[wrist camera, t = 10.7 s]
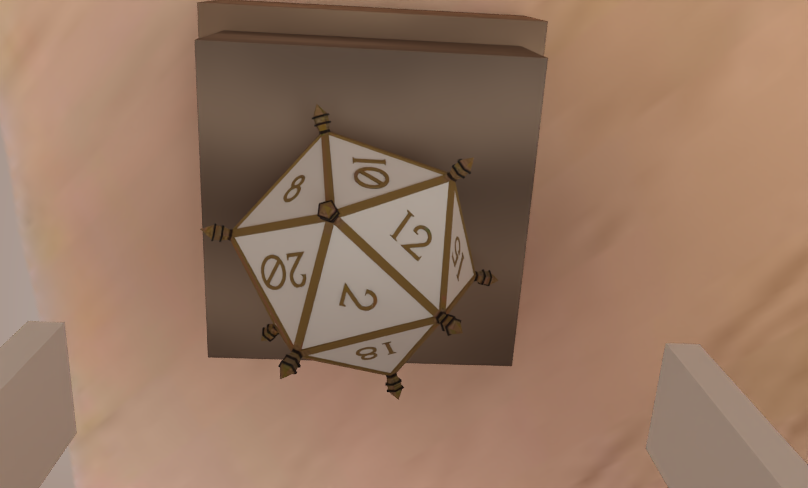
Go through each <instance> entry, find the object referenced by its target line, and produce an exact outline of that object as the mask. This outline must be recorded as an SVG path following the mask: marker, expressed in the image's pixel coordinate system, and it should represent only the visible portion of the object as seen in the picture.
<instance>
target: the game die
mask: <svg viewBox="0 0 808 488" xmlns="http://www.w3.org/2000/svg"><path fill="white" fill-rule="evenodd" d="M328 115H329V113H328V114H327V113H326V112H325V111H324V110H323V109H322V108H321V107H320V106H319V105H318V104H316V108H315V112H314V116H313V118H312V120H313V119H314V122H315V125H314V127H317V129H318V131H319V135H318V136H317V138H316V139H315V140H314V141H313V142H312V143H311V144H310V145H309V146H308V147H307V148H306V150H305V151H304V152H303V153H302V154H301V155H300V156H299V157H298V158H297V159H296V160H295V162H294V163H293V164H292V165H291V166H290V167H289V168H288V169H287V170H286V171H285V172H284V174H283V175H282V176H281V177H280V178H279V179H278V180H277V181H276V182H275V183H274V184H273V186H272V187H271V188H270V189H269V190H268V191H267V192H266V193H265V194H264V195H263V196H262V198H261V199H260V200H259V201H258V202H257V203H256V204H255V205H254V206H253V207H252V208H251V210H250V211H249V212H248V213H247V214H246V215H245V216H244V217H243V218H242V219H241V220H240V222H239V223H238V224H237V225H236V226H235V227H234V228H233V229H228V228H225V227H224V225H222V226H218V225H216V223H214V225H211V226H208V227H205V228H202V229H201V230H202V231H203V232H204V233H205V234H206V235H207V236H208V237H210V238H211V241H213V240H219V242H221V241H222V240H230V241H231V243H232V245H233V247H234V249H235V251H236V253H237V254H238V256H239V258H240V260H241V262H242V264H243V266H244V268H245V270H246V272H247V274H248V276H249V278H250V280H251V282H252V284H253V286H254V287H255V289H256V291H257V293H258V295H259V297H260V299H261V301H262V303H263V305H264V307H265V309H266V311H267V313H268V315H269V317H270V319H271V321H272V322H273V324H267V327H266V328H264V327H263V328H262V338H261V341H269V342H271V341H272V340H273V339H275V338H276V336H277V335H279V334H280V336H281V337H282V339H283V340H284V342H285V343H286V345H287V346H288V348H289V349H290V351H291V353H290V354H289V355H288V354H286V356H285V357H284V359H283V360H282V361H281V363H280V364H279V367H280V379H282V378H284V377H287V376H289V375H291V374H296V373H297V372H296V370H297V368H298V367H300V364H299V363H300V359H301V358H304V359H309V360H314V361H319V362H323V363H328V364H333V365H338V366H343V367H348V368H353V369H358V370H363V371H367V372H372V373H377V374H382V375H386V377H387V382H386V385H387V387H388V390H387V392H390V393H391V394H392V395H394V396H395V397H396V398H397V399H398V400H399V397H400V394H401V391H402V389H403V388H404V387H403V386H402V385H401V382H402V381H401V379H400V378H398V376H397V372H398V371H399V369H400V368H401V367H402V366H403V365H404V364H405V363H406V362H407V361H408V359H409V358H410V357H411V356H412V355H413V354H414V353H415V352H416V350H417V349H418V348H419V347H420V346H421V345H422V344H423V343H424V341H425V340H426V339H427V338H428V337H429V336H430V335H431V334H432V333H433V331H434V330H435V329H436V328H437V327H438V326H439V325H441V329H442V331H446V332H447V335H448V336H450V335H452V334H463V332H462V328H461V321H462V320H460V319H457V318H455V316H453V315H450V314H449V313H450V311H451V310H452V309H453V308H454V306H455V305H456V304H457V302H458V301H459V300H460V299H461V297H462V296H463V295H464V294H465V292H466V291H467V290H468V288H469V287H470V286H471V285H472V283H473V282H474V281H476V282H478V284H481V285H483V284H484V285H486V286H490V284H493V283H495V282H497V281H499V280H498V279H497V278H496V277H495V276H494V275H493V274H492V273H491V271H490V270H488V271H484V269H482V270H481V271H478V272H477V271H475V268H474V264H473V259H472V255H471V250H470V246H469V241H468V237H467V232H466V228H465V223H464V219H463V214H462V210H461V205H460V201H459V196H458V192H457V187H456V183H455V182H456V181H457V180H458V179H460V178H463V179H464V178H465V175H467V174H468V173H469V174H471V167H472V164H473V160H474V157H473V158H468V159H463V160H462V159H459V160H458V161H457V162H458V163H457V164H454V165H452V169H451V171H450V172H446V171H443V170H440V169H437V168H434V167H431V166H428V165H426V164H423V163H420V162H417V161H414V160H411V159H408V158H405V157H402V156H400V155H397V154H394V153H391V152H388V151H385V150H382V149H379V148H376V147H374V146H371V145H368V144H365V143H362V142H359V141H356V140H353V139H350V138H348V137H345V136H342V135H339V134H336V133H333V132H331V131H330V129H329V123H331V121H329V118H328Z"/></svg>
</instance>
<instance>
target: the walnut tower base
mask: <svg viewBox="0 0 808 488" xmlns="http://www.w3.org/2000/svg"><path fill="white" fill-rule="evenodd" d="M197 8H198V33H199V39H196V40H195V60H196V84H197V107H198V131H199V155H200V178H201V202H202V226H203V228H205V227H208V226H211V225H214V223H216V225H218V226H222V225H224V227H225V228H228V229H233V228H234V227H235V226H236V225H237V224H238V223H239V222H240V220H241V219H242V218H243V217H244V216H245V215H246V214H247V213H248V212H249V211H250V210H251V208H252V207H253V206H254V205H255V204H256V203H257V202H258V201H259V200H260V199H261V198H262V196H263V195H264V194H265V193H266V192H267V191H268V190H269V189H270V188H271V187H272V186H273V184H274V183H275V182H276V181H277V180H278V179H279V178H280V177H281V176H282V175H283V174H284V172H285V171H286V170H287V169H288V168H289V167H290V166H291V165H292V164H293V163H294V162H295V160H296V159H297V158H298V157H299V156H300V155H301V154H302V153H303V152H304V151H305V150H306V148H307V147H308V146H309V145H310V144H311V143H312V142H313V141H314V140H315V139H316V138H317V136H318V135H319V131H318V129H317V127H314V125H315V122H314V119H313V120H312V118H313V116H314V112H315V108H316V104H318V105H319V106H320V107H321V108H322V109H323V110H324V111H325V112H326V113H327V114H328V113H329V115H328V118H329V121H331V123H329V129H330V131H331V132H333V133H336V134H339V135H342V136H345V137H348V138H350V139H353V140H356V141H359V142H362V143H365V144H368V145H371V146H374V147H376V148H379V149H382V150H385V151H388V152H391V153H394V154H397V155H400V156H402V157H405V158H408V159H411V160H414V161H417V162H420V163H423V164H426V165H428V166H431V167H434V168H437V169H440V170H443V171H446V172H450V171H451V169H452V165H454V164H457V163H458V162H457V161H458V160H459V159H462V160H463V159H468V158H473V157H474V160H473V164H472V167H471V174H469V173H468V174H467V175H465V178H464V179H463V178H460V179H458V180H457V181H456V182H455V183H456V187H457V192H458V196H459V201H460V205H461V210H462V214H463V219H464V223H465V228H466V232H467V237H468V241H469V246H470V250H471V255H472V259H473V264H474V268H475V271H477V272H478V271H481V270H482V269H484V271H488V270H490V271H491V273H492V274H493V275H494V276H495V277H496V278H497V279H498V280H499V281H497V282H495V283H493V284H490V286H486V285H484V284H483V285H481V284H478V282H476V281H474V282H473V283H472V285H471V286H470V287H469V288H468V290H467V291H466V292H465V294H464V295H463V296H462V297H461V299H460V300H459V301H458V302H457V304H456V305H455V306H454V308H453V309H452V310H451V311H450V313H449V314H450V315H453V316H455V318H457V319H460V320H462V321H461V328H462V332H463V334H452V335H450V336H448V335H447V332H446V331H442V329H441V325H439V326H438V327H437V328H436V329H435V330H434V331H433V333H432V334H431V335H430V336H429V337H428V338H427V339H426V340H425V341H424V343H423V344H422V345H421V346H420V347H419V348H418V349H417V350H416V352H415V353H414V354H413V355H412V356H411V357H410V358H409V359H408V361H407V362H406V363H424V364H458V365H493V366H512V360H513V352H514V343H515V335H516V326H517V318H518V309H519V300H520V292H521V283H522V275H523V266H524V258H525V249H526V241H527V232H528V223H529V215H530V206H531V198H532V189H533V181H534V172H535V163H536V155H537V146H538V138H539V129H540V121H541V112H542V104H543V95H544V86H545V78H546V69H547V61H548V58H546V57H544V50H545V41H546V32H547V23H548V22H547V21H543V20H539V19H535V18H531V17H527V16H518V15H500V14H482V13H463V12H445V11H427V10H408V9H390V8H372V7H354V6H335V5H317V4H299V3H280V2H262V1H244V0H213V1H205V2H198V3H197ZM203 250H204V273H205V297H206V321H207V345H208V357H216V358H251V359H284V357H285V356H286V354H288V355H289V354H290V353H291V351H290V349H289V348H288V346H287V345H286V343H285V342H284V340H283V339H282V337H281V336H280V334H279V335H277V336H276V338H275V339H273V340H272V341H271V342H269V341H261V338H262V328H263V327H264V328H266V327H267V324H273V322H272V321H271V319H270V317H269V315H268V313H267V311H266V309H265V307H264V305H263V303H262V301H261V299H260V297H259V295H258V293H257V291H256V289H255V287H254V286H253V284H252V282H251V280H250V278H249V276H248V274H247V272H246V270H245V268H244V266H243V264H242V262H241V260H240V258H239V256H238V254H237V253H236V251H235V249H234V247H233V245H232V243H231V241H230V240H222V241H221V242H219V240H213V241H211V238H210V237H208V236H207V235H206V234H205V233H204V232H203ZM300 360H309V359H304V358H301V359H300Z"/></svg>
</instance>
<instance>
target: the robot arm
mask: <svg viewBox="0 0 808 488" xmlns="http://www.w3.org/2000/svg"><path fill="white" fill-rule="evenodd" d="M76 433H77V431H76V422H75V413H74V404H73V395H72V386H71V377H70V367H69V358H68V349H67V340H66V331H65V322H39V321H28V322H27V323H26V324H25V325H23V326H22V327H21V329H19V330H18V331H17V332H16V333H15V334H14V335H13V336H12V337H11V338H10V339H9V340H8V341H7V342H5V343H4V344H3V345H2V346H1V347H0V488H39V487H40V486H41V484H42V483H43V481H44V480H45V478H46V477H47V475H48V474H49V473H50V471H51V470H52V468H53V467H54V465H55V464H56V462H57V461H58V459H59V458H60V456H61V455H62V454H63V452H64V451H65V449H66V448H67V446H68V445H69V443H70V442H71V440H72V439H73V437H74V436H75V434H76ZM646 450H647V452H648V453H649V455H650V457H651V458H652V460H653V462H654V464H655V465H656V467H657V469H658V471H659V472H660V474H661V476H662V478H663V479H664V481H665V483H666V484H667V486H668V488H808V464H806V462H805V461H804V460H803V459H802V458H801V457H800V456H799V455H798V453H797V452H796V451H795V450H794V449H793V448H792V447H791V446H790V445H789V443H788V442H787V441H786V440H785V439H784V438H783V437H782V436H781V435H780V433H779V432H778V431H777V430H776V429H775V428H774V427H773V426H772V425H771V423H770V422H769V421H768V420H767V419H766V418H765V417H764V416H763V414H762V413H761V412H760V411H759V410H758V409H757V408H756V407H755V406H754V404H753V403H752V402H751V401H750V400H749V399H748V398H747V397H746V396H745V394H744V393H743V392H742V391H741V390H740V389H739V388H738V387H737V385H736V384H735V383H734V382H733V381H732V380H731V379H730V378H729V377H728V375H727V374H726V373H725V372H724V371H723V370H722V369H721V368H720V367H719V365H718V364H717V363H716V362H715V361H714V360H713V359H712V358H711V357H710V355H709V354H708V353H707V352H706V351H705V350H704V349H703V348H702V346H701V345H700V344H681V343H666V344H665V349H664V355H663V360H662V365H661V370H660V376H659V381H658V386H657V392H656V397H655V402H654V407H653V413H652V418H651V423H650V428H649V434H648V439H647V444H646Z"/></svg>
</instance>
